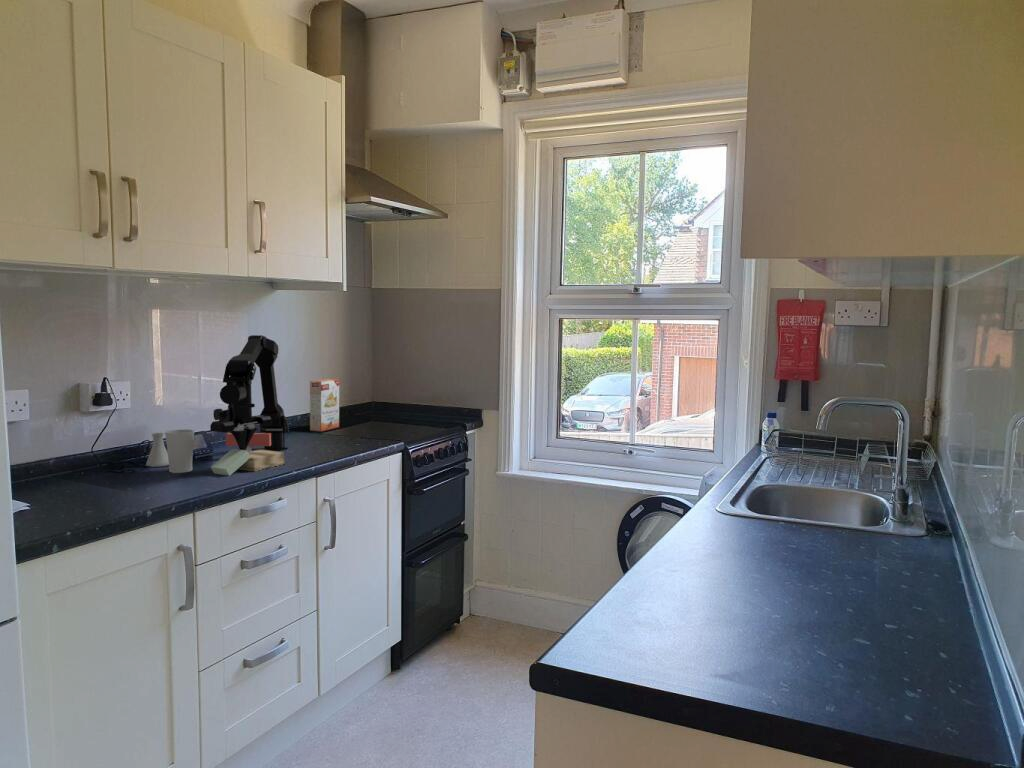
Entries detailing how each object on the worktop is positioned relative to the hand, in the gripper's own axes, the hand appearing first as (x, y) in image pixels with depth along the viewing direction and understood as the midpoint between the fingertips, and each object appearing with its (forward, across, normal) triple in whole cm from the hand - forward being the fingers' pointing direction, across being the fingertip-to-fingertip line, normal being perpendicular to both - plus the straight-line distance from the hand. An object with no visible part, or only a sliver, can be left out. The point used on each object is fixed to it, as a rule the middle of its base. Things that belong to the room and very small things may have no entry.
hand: (242, 451), depth 214 cm
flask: (+6, +8, -28) cm, 30 cm away
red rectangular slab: (+6, -14, -13) cm, 20 cm away
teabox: (+6, -6, 0) cm, 8 cm away
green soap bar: (+4, +4, 0) cm, 5 cm away
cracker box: (+6, -75, -36) cm, 83 cm away
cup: (+6, +10, -15) cm, 19 cm away
